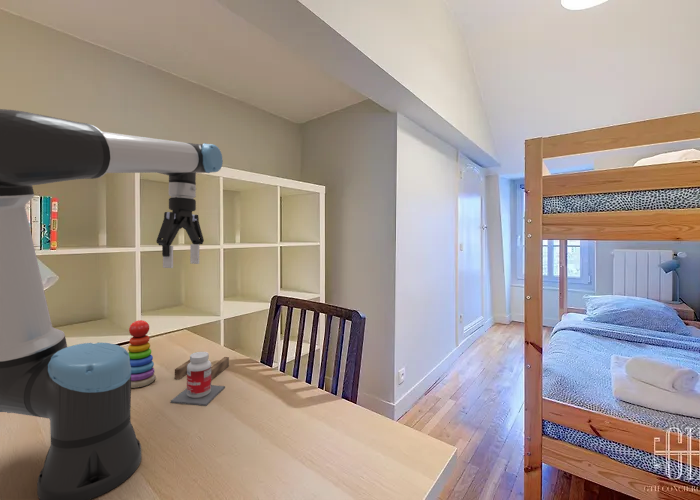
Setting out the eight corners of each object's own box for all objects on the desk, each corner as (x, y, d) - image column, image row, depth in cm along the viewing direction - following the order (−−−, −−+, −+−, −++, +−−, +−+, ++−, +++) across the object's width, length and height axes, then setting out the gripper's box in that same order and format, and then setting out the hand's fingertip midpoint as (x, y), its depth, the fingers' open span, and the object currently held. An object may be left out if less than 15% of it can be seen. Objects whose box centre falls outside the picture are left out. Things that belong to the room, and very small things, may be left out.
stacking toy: (161, 377, 100) (161, 318, 99) (142, 390, 92) (142, 325, 91) (138, 375, 100) (137, 316, 99) (117, 388, 92) (116, 323, 92)
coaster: (206, 405, 84) (206, 403, 84) (170, 402, 85) (170, 400, 85) (224, 387, 94) (224, 386, 94) (192, 385, 95) (192, 383, 95)
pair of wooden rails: (210, 381, 98) (210, 371, 98) (174, 378, 99) (174, 369, 99) (228, 365, 110) (228, 357, 110) (197, 363, 111) (197, 354, 111)
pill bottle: (181, 396, 88) (181, 356, 88) (199, 386, 94) (199, 349, 93) (199, 400, 86) (199, 360, 85) (215, 390, 92) (216, 352, 91)
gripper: (167, 193, 88) (167, 270, 89) (214, 202, 112) (214, 262, 113) (141, 192, 88) (141, 269, 89) (194, 201, 113) (194, 261, 114)
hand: (182, 265), depth 101 cm, fingers open, 13 cm apart
